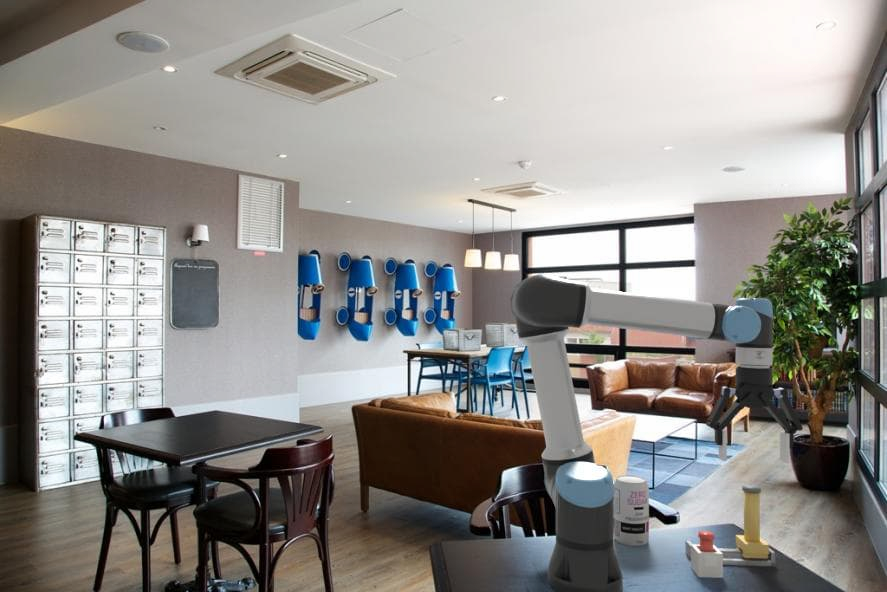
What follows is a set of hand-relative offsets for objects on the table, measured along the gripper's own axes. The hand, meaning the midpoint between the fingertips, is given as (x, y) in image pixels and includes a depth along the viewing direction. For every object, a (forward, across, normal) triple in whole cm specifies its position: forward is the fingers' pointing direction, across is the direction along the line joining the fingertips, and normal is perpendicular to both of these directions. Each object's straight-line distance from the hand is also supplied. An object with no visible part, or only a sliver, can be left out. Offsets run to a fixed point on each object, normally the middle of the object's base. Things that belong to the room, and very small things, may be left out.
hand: (753, 460), depth 141 cm
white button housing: (+22, -13, -7) cm, 27 cm away
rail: (+22, -5, 0) cm, 23 cm away
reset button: (+19, -13, -7) cm, 24 cm away
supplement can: (+23, -25, +10) cm, 35 cm away
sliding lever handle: (+21, 0, 0) cm, 21 cm away
